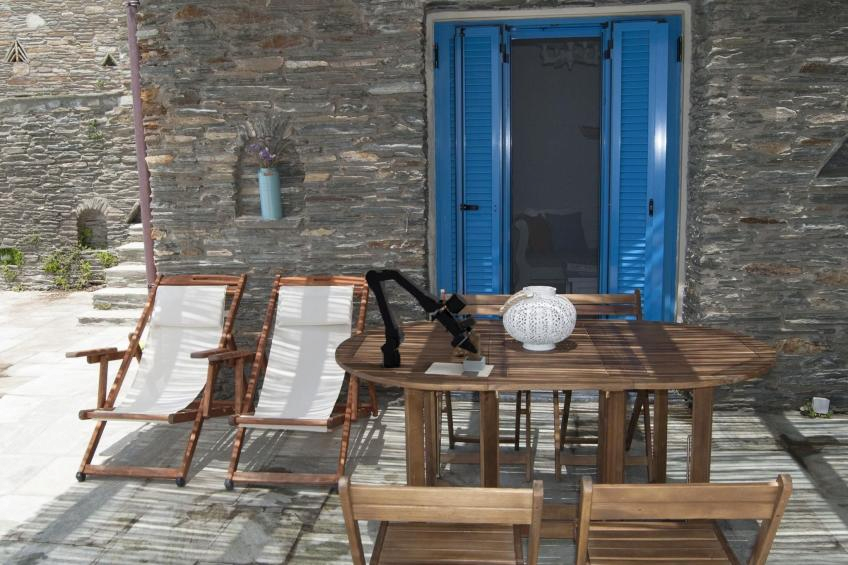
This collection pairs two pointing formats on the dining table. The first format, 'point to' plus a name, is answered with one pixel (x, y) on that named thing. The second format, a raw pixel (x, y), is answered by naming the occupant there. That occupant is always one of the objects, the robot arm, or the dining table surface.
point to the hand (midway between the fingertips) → (477, 351)
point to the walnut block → (476, 343)
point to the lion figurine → (461, 351)
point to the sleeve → (474, 364)
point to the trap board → (457, 370)
